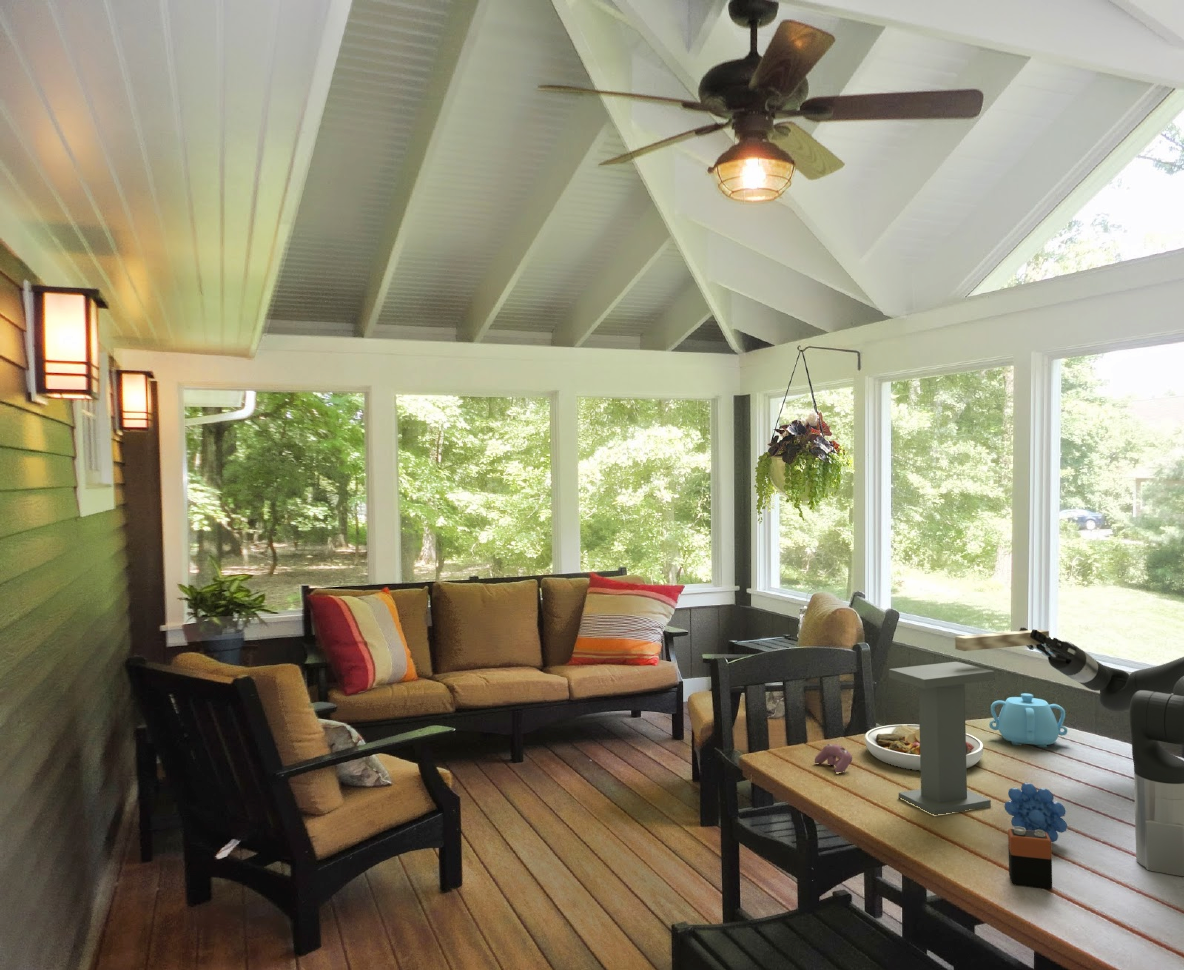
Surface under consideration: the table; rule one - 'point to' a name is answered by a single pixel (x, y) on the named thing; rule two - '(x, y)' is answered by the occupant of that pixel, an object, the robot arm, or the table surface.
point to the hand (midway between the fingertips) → (1026, 631)
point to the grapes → (1036, 810)
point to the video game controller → (830, 755)
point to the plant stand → (943, 735)
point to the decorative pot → (1028, 721)
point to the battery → (1030, 858)
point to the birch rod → (996, 640)
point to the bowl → (910, 746)
